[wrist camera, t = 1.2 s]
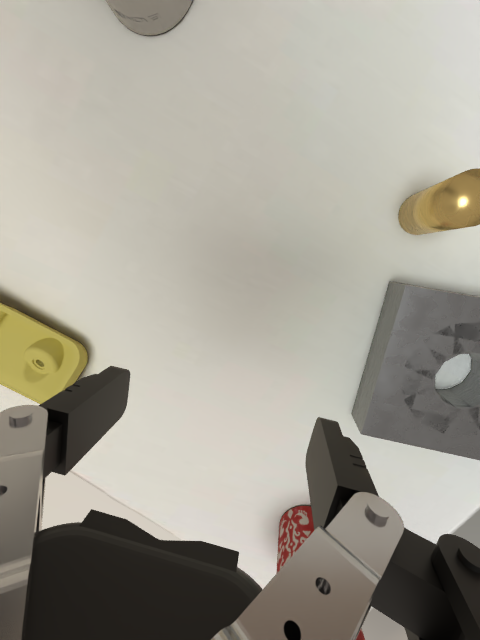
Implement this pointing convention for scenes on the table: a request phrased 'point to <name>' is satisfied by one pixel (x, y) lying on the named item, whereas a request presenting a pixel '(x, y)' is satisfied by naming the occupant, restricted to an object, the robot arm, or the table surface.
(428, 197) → the brass peg
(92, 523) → the robot arm
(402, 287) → the jig
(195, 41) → the table surface
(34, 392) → the plastic component
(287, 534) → the mug
